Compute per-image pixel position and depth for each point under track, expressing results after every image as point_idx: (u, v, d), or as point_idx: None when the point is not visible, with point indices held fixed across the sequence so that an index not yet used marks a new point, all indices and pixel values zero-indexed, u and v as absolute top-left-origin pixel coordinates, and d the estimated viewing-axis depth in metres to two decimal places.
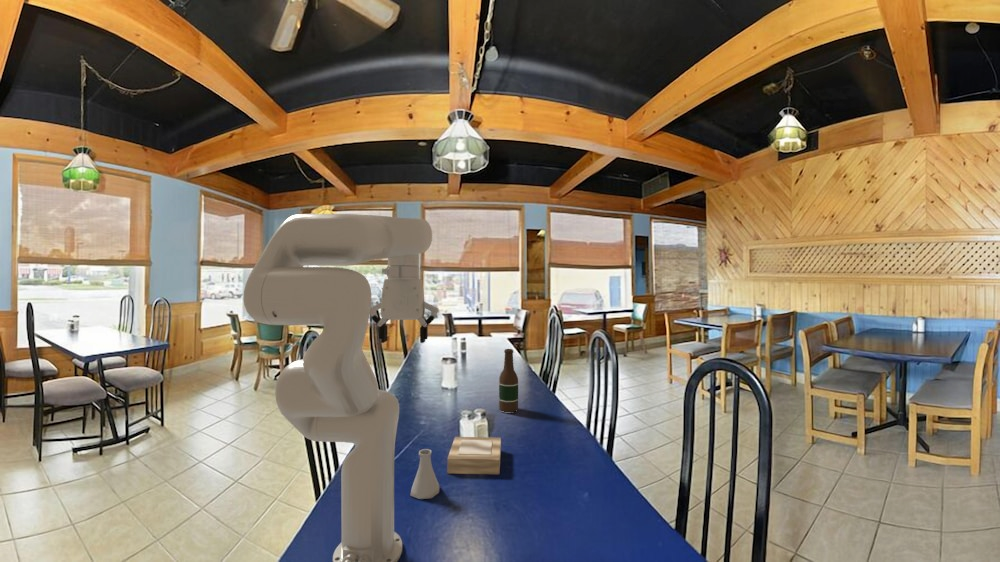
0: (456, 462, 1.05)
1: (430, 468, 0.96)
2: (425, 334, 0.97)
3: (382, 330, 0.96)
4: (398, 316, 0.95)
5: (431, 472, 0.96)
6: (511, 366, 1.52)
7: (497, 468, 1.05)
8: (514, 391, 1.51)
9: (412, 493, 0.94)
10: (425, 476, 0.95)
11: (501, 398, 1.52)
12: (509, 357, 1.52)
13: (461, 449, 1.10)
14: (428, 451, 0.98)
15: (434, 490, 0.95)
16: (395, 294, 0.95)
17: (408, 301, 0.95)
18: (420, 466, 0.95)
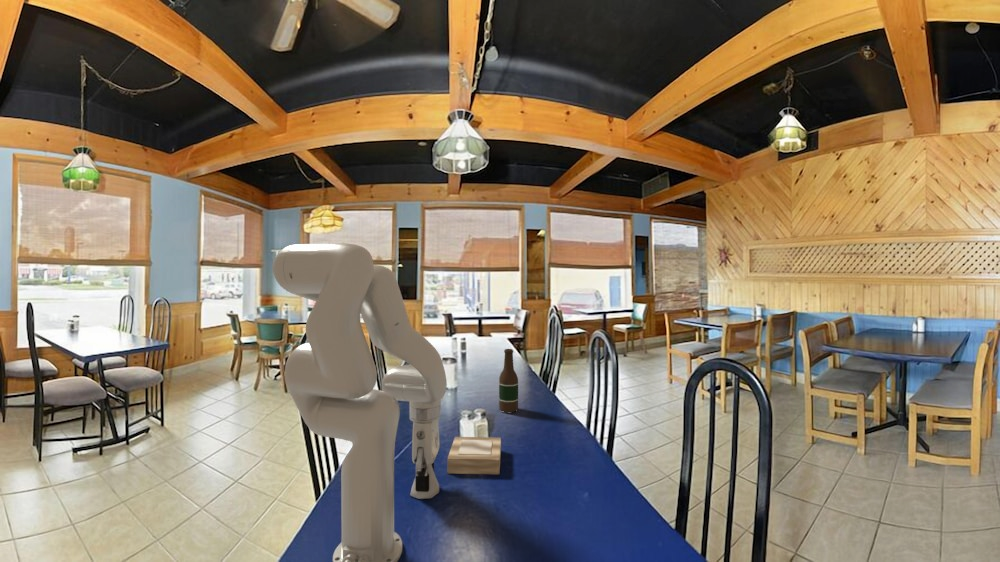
0: (456, 462, 1.05)
1: (430, 468, 0.96)
2: None
3: (428, 478, 0.94)
4: (436, 454, 0.96)
5: (431, 472, 0.96)
6: (511, 366, 1.52)
7: (497, 468, 1.05)
8: (514, 391, 1.51)
9: (412, 493, 0.94)
10: None
11: (501, 398, 1.52)
12: (509, 357, 1.52)
13: (461, 449, 1.10)
14: None
15: (434, 490, 0.95)
16: (435, 433, 0.95)
17: (437, 435, 0.98)
18: None
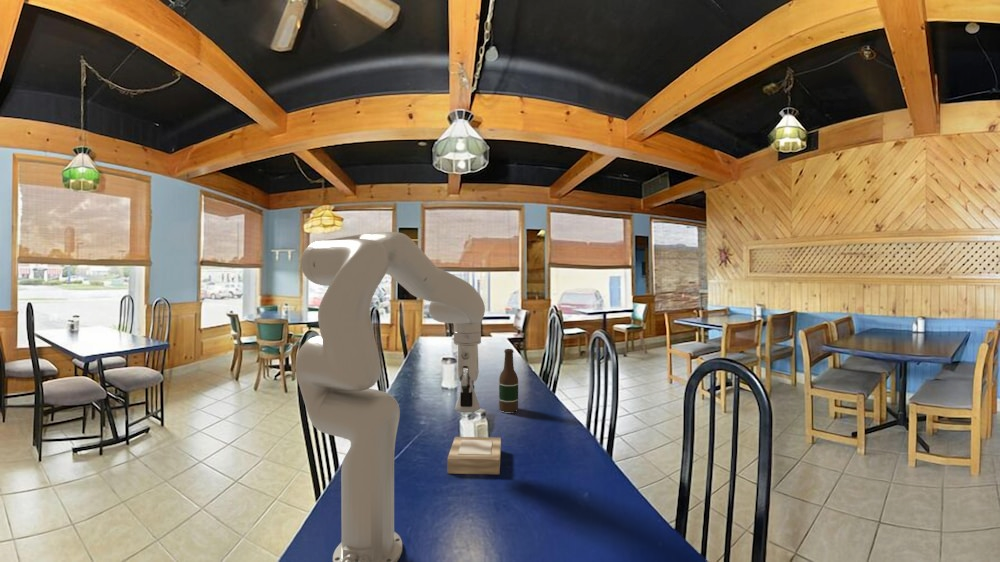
0: (456, 462, 1.05)
1: (472, 387, 1.08)
2: None
3: None
4: (477, 375, 1.08)
5: (473, 391, 1.08)
6: (511, 366, 1.52)
7: (497, 468, 1.05)
8: (514, 391, 1.51)
9: (457, 408, 1.07)
10: None
11: (501, 398, 1.52)
12: (509, 357, 1.52)
13: (461, 449, 1.10)
14: None
15: (476, 406, 1.08)
16: (477, 356, 1.07)
17: None
18: None
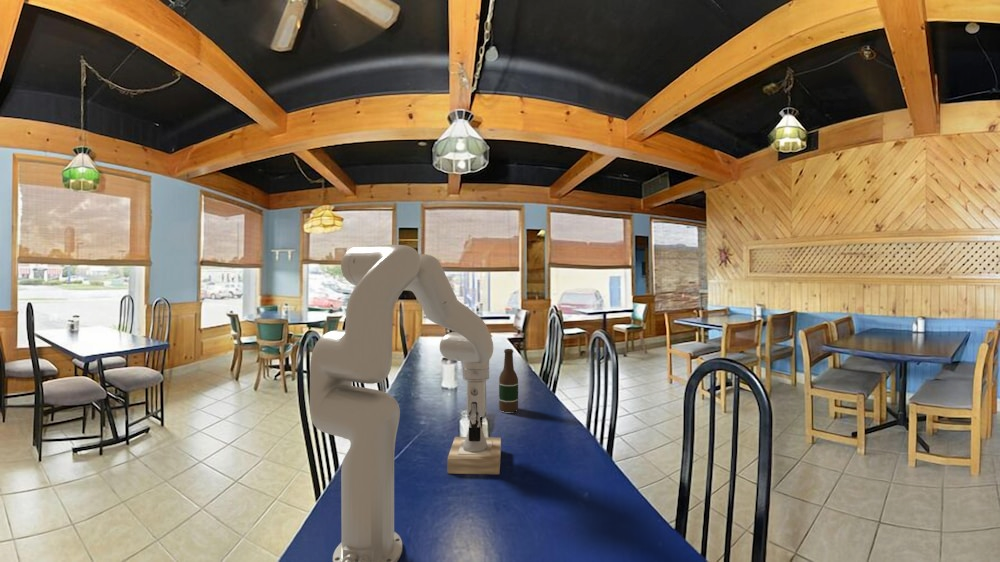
0: (456, 462, 1.05)
1: (480, 426, 1.11)
2: None
3: None
4: (485, 410, 1.11)
5: (481, 429, 1.11)
6: (511, 366, 1.52)
7: (497, 468, 1.05)
8: (514, 391, 1.51)
9: (465, 447, 1.10)
10: None
11: (501, 398, 1.52)
12: (509, 357, 1.52)
13: (461, 449, 1.10)
14: None
15: (484, 445, 1.10)
16: (485, 392, 1.10)
17: None
18: None
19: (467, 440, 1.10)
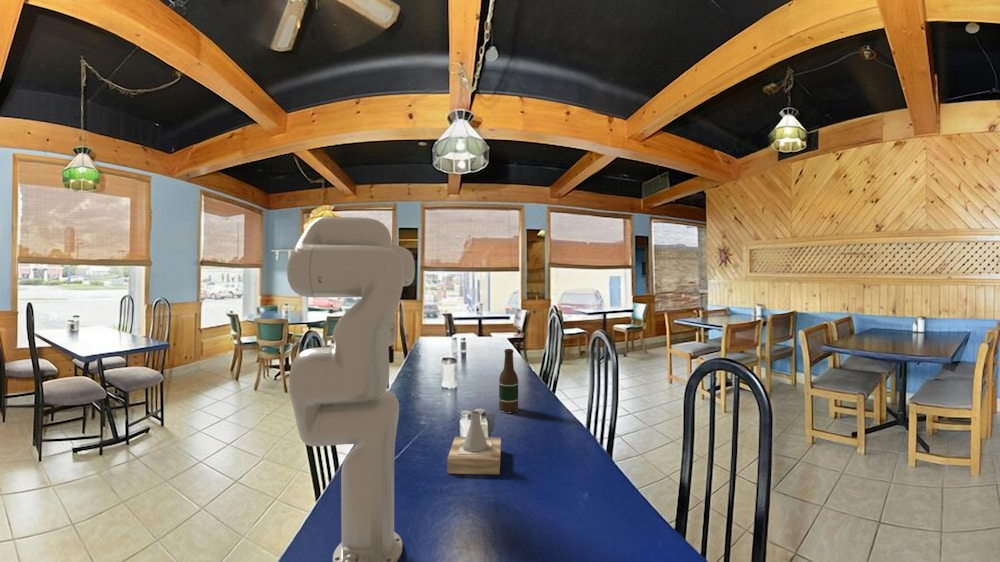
0: (456, 462, 1.05)
1: (480, 426, 1.11)
2: None
3: None
4: (391, 342, 1.06)
5: (481, 430, 1.11)
6: (511, 366, 1.52)
7: (497, 468, 1.05)
8: (514, 391, 1.51)
9: (465, 447, 1.10)
10: (476, 432, 1.10)
11: (501, 398, 1.52)
12: (509, 357, 1.52)
13: (461, 449, 1.10)
14: (477, 412, 1.13)
15: (484, 445, 1.10)
16: (391, 322, 1.05)
17: (394, 327, 1.08)
18: (471, 424, 1.11)
19: (467, 440, 1.10)
